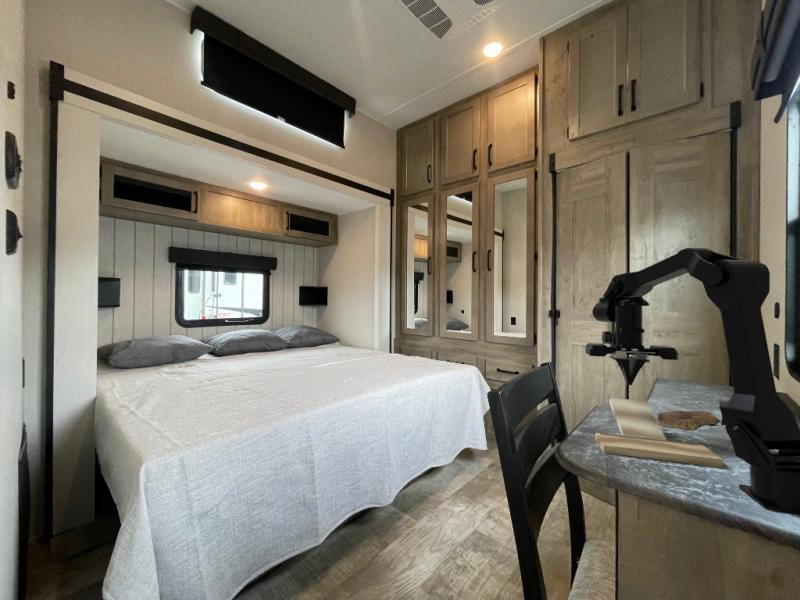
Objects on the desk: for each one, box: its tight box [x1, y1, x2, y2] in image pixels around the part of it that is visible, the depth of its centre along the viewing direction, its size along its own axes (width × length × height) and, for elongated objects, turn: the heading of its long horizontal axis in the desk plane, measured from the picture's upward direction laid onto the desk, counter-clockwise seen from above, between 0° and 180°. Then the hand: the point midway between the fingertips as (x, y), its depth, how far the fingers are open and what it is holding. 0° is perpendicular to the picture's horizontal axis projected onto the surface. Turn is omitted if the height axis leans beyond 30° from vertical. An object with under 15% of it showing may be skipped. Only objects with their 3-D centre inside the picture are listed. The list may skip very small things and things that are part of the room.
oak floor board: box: [595, 432, 723, 468], centre depth 70 cm, size 7×20×2 cm, turn 71°
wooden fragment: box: [657, 410, 721, 432], centre depth 90 cm, size 26×11×1 cm, turn 114°
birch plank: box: [608, 397, 668, 441], centre depth 79 cm, size 13×8×2 cm, turn 162°
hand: (629, 384), depth 83 cm, fingers closed
